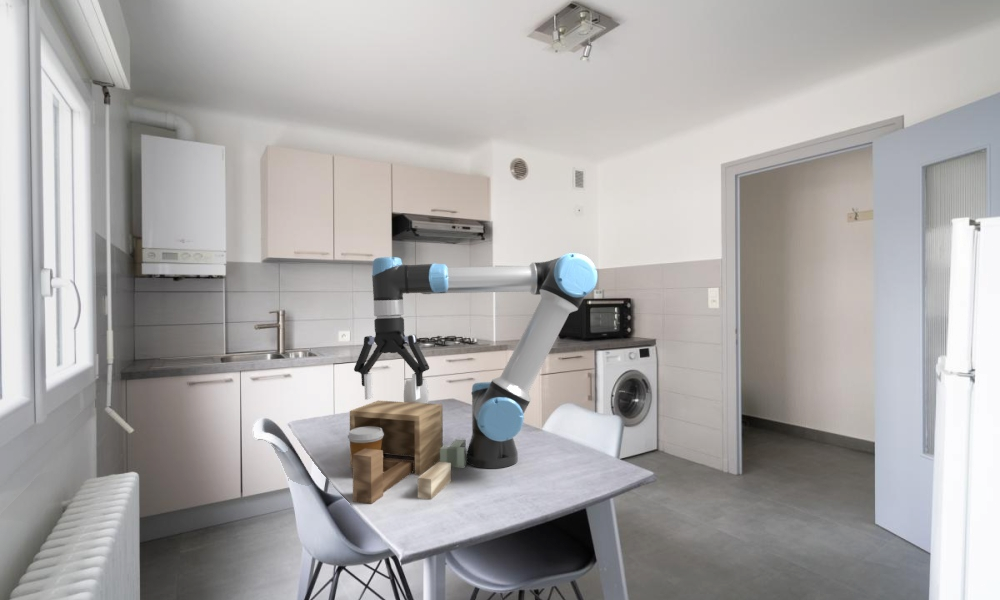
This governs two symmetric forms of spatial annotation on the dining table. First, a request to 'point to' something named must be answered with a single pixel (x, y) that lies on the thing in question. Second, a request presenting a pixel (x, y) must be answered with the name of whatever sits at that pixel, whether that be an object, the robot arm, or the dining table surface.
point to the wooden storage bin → (404, 429)
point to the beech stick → (434, 480)
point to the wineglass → (409, 392)
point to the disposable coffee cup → (365, 439)
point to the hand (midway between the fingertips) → (392, 398)
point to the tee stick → (454, 453)
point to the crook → (376, 474)
